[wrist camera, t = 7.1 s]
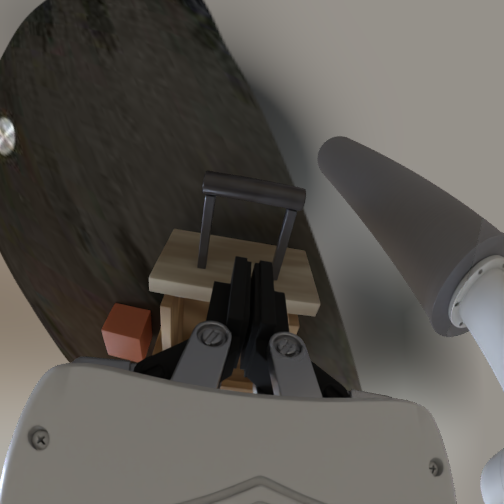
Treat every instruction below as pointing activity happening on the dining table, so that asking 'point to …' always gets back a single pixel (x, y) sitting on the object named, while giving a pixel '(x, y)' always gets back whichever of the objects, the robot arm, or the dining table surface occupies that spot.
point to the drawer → (230, 261)
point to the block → (128, 332)
